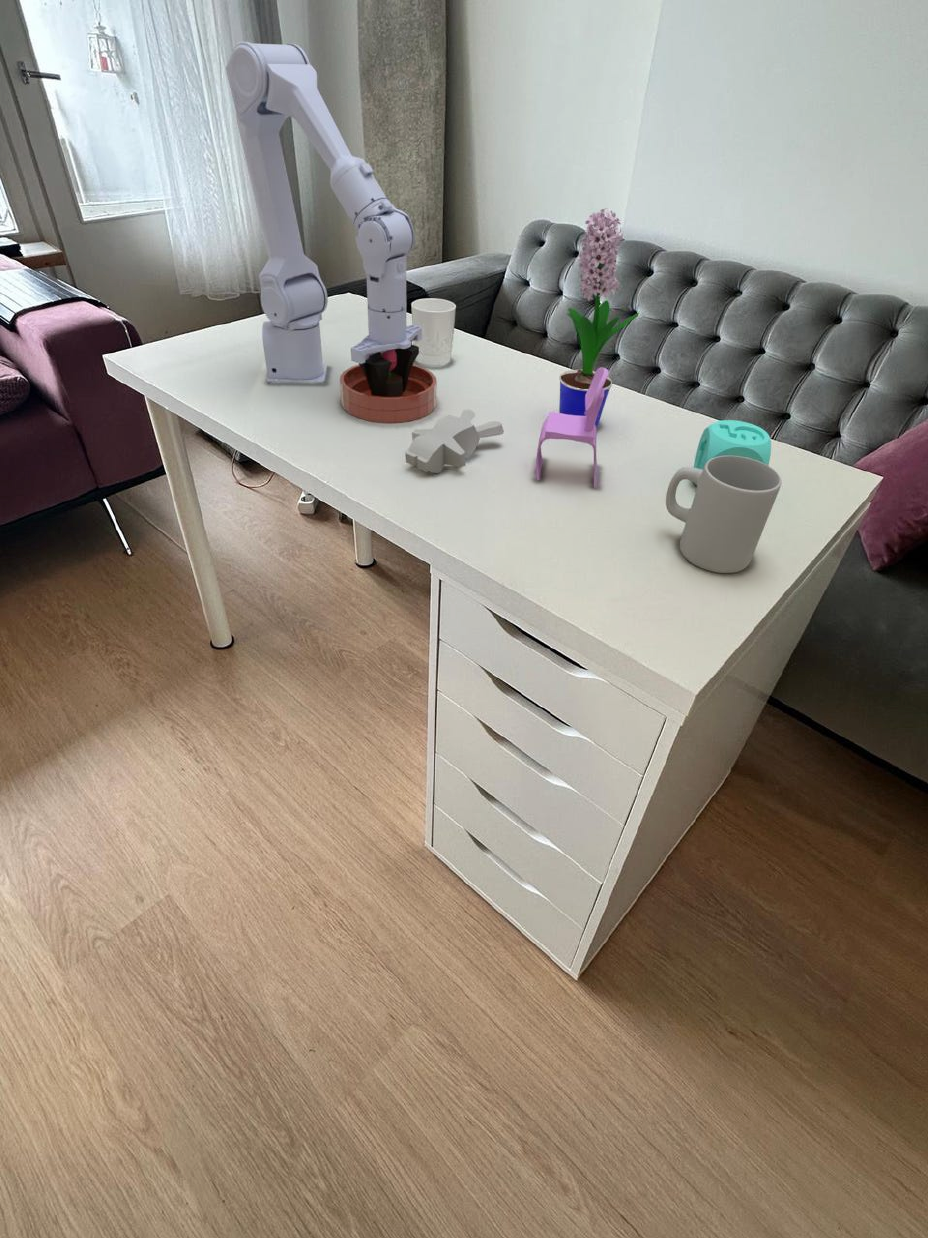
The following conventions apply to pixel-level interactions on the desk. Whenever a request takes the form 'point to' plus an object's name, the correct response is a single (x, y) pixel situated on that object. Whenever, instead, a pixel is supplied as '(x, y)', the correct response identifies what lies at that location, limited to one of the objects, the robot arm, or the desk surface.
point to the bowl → (389, 409)
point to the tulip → (393, 376)
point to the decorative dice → (733, 442)
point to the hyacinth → (596, 332)
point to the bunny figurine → (448, 442)
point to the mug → (724, 511)
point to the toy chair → (576, 422)
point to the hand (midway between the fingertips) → (388, 395)
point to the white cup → (434, 330)
